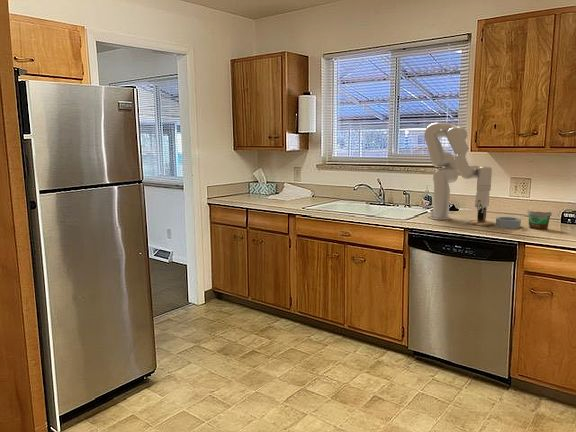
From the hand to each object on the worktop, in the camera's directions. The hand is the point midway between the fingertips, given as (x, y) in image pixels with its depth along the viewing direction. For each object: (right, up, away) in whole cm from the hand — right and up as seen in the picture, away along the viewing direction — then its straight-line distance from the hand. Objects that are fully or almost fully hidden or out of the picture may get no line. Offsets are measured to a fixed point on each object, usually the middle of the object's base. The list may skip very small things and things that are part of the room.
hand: (481, 218), depth 276 cm
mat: (0, -4, +1) cm, 4 cm away
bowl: (+12, -5, -7) cm, 15 cm away
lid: (0, -3, +1) cm, 3 cm away
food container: (+27, -6, -12) cm, 30 cm away
